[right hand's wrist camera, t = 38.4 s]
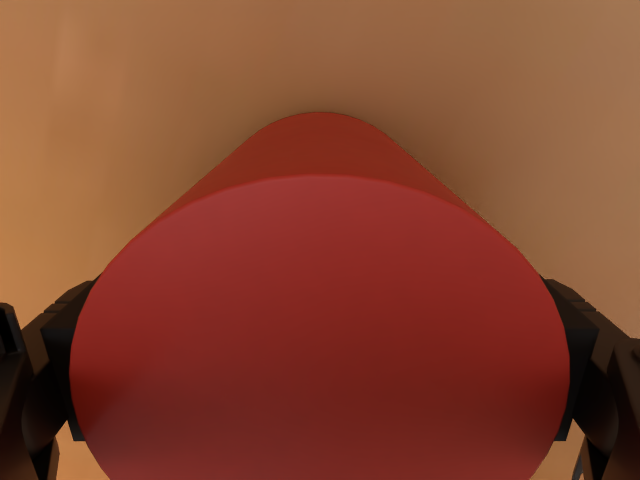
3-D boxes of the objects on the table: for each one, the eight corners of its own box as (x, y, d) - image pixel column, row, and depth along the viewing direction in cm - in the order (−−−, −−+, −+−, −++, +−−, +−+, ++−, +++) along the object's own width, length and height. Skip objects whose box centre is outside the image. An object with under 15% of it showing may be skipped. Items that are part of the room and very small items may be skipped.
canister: (419, 307, 18) (530, 564, 9) (229, 314, 18) (129, 575, 9) (430, 107, 15) (626, 160, 5) (200, 117, 15) (-7, 186, 6)
